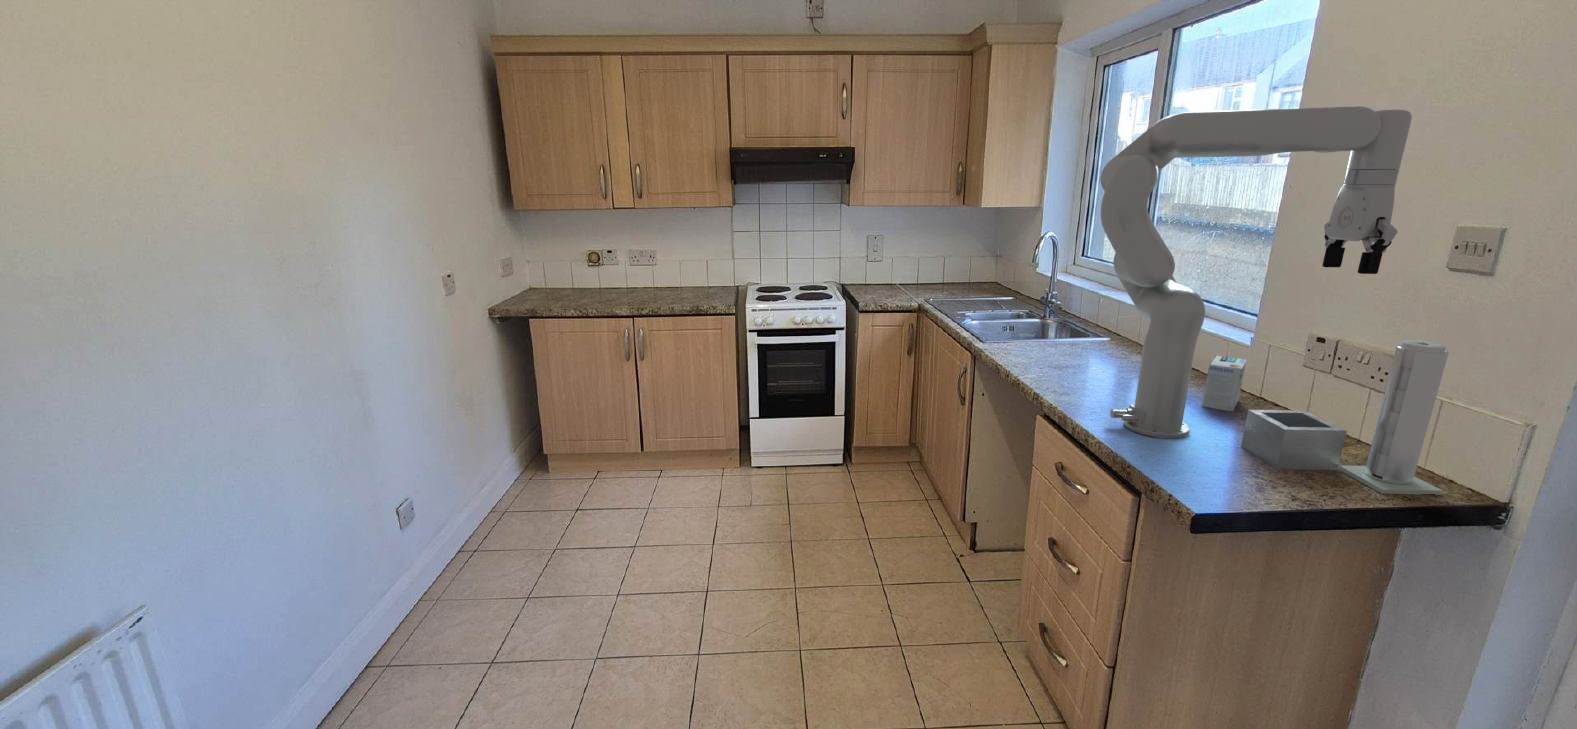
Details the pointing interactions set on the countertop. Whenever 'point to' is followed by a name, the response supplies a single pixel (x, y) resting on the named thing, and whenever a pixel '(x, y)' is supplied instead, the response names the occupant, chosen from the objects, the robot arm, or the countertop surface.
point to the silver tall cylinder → (1406, 411)
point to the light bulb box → (1224, 383)
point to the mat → (1389, 488)
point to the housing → (1293, 439)
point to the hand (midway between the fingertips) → (1348, 270)
